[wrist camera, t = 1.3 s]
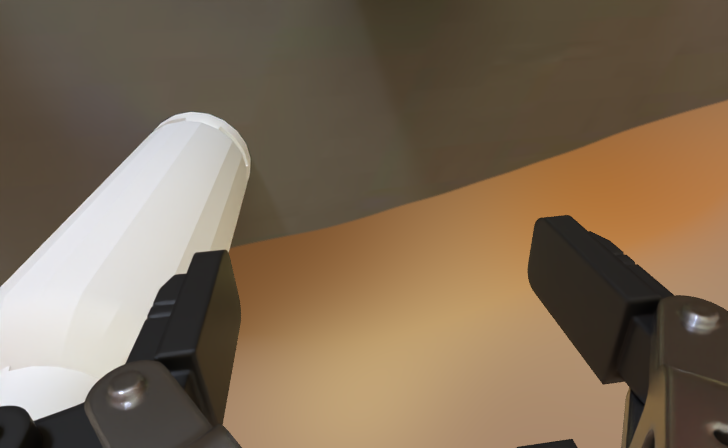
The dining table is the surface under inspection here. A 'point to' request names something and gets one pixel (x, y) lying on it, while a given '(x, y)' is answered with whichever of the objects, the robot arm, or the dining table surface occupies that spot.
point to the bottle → (117, 261)
